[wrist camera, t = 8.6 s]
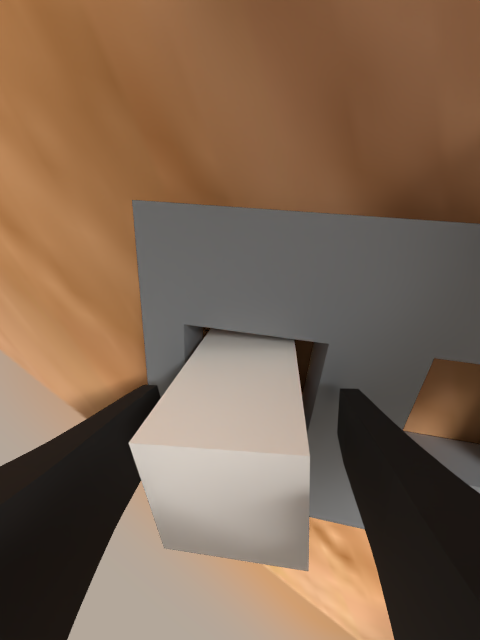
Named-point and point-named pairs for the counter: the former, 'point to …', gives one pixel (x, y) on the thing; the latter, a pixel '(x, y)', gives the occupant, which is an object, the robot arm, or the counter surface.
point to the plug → (231, 453)
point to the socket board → (318, 311)
